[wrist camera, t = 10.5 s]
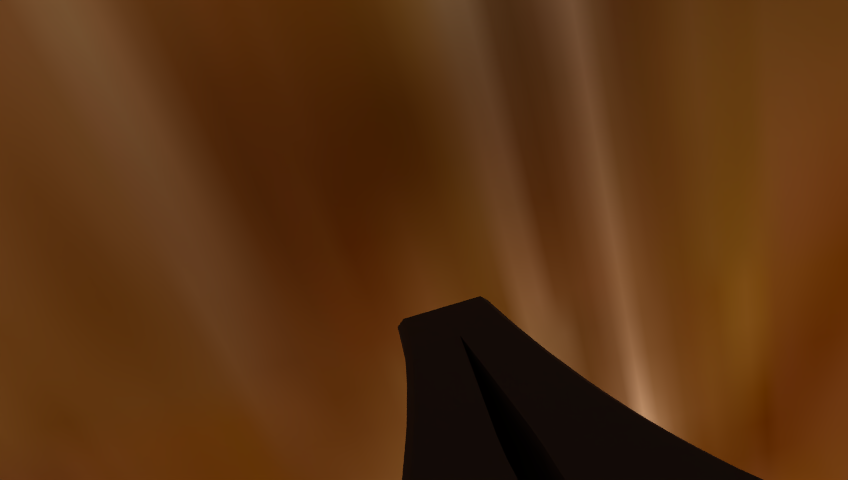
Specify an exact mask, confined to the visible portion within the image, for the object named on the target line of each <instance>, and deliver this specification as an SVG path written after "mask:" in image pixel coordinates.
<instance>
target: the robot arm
mask: <svg viewBox="0 0 848 480" xmlns="http://www.w3.org/2000/svg"><path fill="white" fill-rule="evenodd" d="M398 330H399V334H400V339H401V343H402V347H403V351H404V355H405V361H406V374H407V429H406V442H405V453H404V465H403V476H402V480H763V479H761V478H758V477H756V476H754V475H752V474H749V473H747V472H745V471H743V470H740V469H738V468H736V467H734V466H732V465H730V464H728V463H726V462H724V461H722V460H720V459H719V458H717V457H715V456H713V455H711V454H709V453H707V452H705V451H703V450H701V449H699V448H697V447H695V446H693V445H692V444H690V443H688V442H686V441H684V440H683V439H681V438H679V437H677V436H675V435H673V434H672V433H670V432H668V431H666V430H665V429H663V428H661V427H659V426H658V425H656V424H654V423H653V422H651V421H649V420H648V419H646V418H644V417H643V416H641V415H639V414H638V413H636V412H635V411H633V410H631V409H630V408H628V407H627V406H625V405H624V404H622V403H621V402H619V401H618V400H616V399H614V398H613V397H611V396H610V395H608V394H607V393H605V392H604V391H602V390H601V389H599V388H598V387H596V386H595V385H594V384H592V383H591V382H589V381H588V380H586V379H585V378H584V377H582V376H581V375H579V374H578V373H577V372H575V371H574V370H573V369H571V368H570V367H569V366H567V365H566V364H564V363H563V362H562V361H560V360H559V359H558V358H556V357H555V356H554V355H552V354H551V353H550V352H548V351H547V350H546V349H545V348H543V347H542V346H541V345H539V344H538V343H537V342H536V341H534V340H533V339H532V338H531V337H530V336H528V335H527V334H526V333H525V332H523V331H522V330H521V329H520V328H519V327H517V326H516V325H515V324H514V323H513V322H512V321H510V320H509V319H508V318H507V317H506V316H505V315H504V314H502V313H501V312H500V311H499V310H498V309H497V308H496V307H495V306H493V305H492V304H491V303H490V302H489V301H488V300H486V299H484V298H483V297H481V296H479V297H476V298H473V299H469V300H466V301H463V302H459V303H456V304H453V305H449V306H446V307H442V308H439V309H436V310H432V311H429V312H426V313H422V314H419V315H416V316H412V317H409V318H405V319H403V321H402V322H401V323H400V325H399V326H398Z"/></svg>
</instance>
